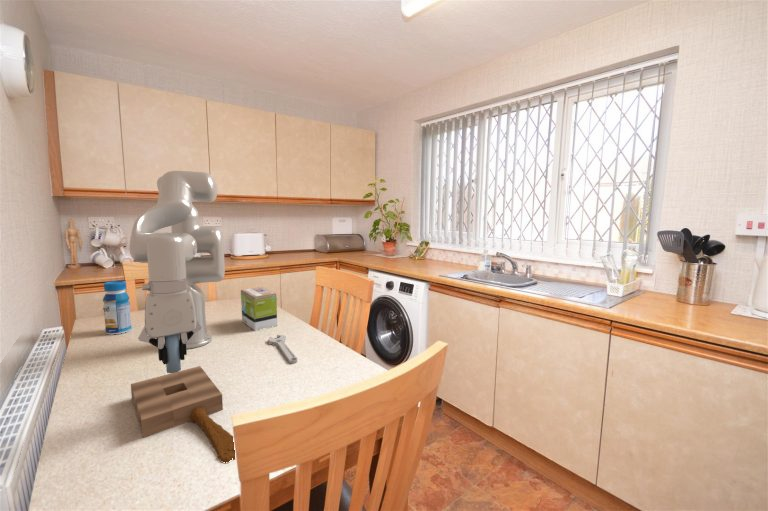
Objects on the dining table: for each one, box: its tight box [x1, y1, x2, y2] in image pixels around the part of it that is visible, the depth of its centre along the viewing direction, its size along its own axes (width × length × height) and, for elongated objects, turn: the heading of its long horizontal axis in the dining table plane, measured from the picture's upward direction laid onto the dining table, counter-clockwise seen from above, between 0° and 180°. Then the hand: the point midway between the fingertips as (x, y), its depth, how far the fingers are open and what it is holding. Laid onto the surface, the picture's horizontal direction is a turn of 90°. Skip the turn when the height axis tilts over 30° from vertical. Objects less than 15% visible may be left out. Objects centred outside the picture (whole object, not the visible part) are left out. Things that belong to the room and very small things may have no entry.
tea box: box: [240, 286, 278, 331], centre depth 145 cm, size 15×10×15 cm
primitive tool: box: [190, 407, 236, 464], centre depth 72 cm, size 19×6×4 cm, turn 53°
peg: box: [164, 334, 182, 374], centre depth 83 cm, size 3×3×10 cm
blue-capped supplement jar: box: [102, 280, 132, 336], centre depth 133 cm, size 8×8×20 cm
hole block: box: [130, 365, 224, 438], centre depth 85 cm, size 20×16×4 cm
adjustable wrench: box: [268, 334, 298, 365], centre depth 119 cm, size 25×6×2 cm, turn 27°
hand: (173, 359), depth 83 cm, fingers closed on peg, 3 cm apart
